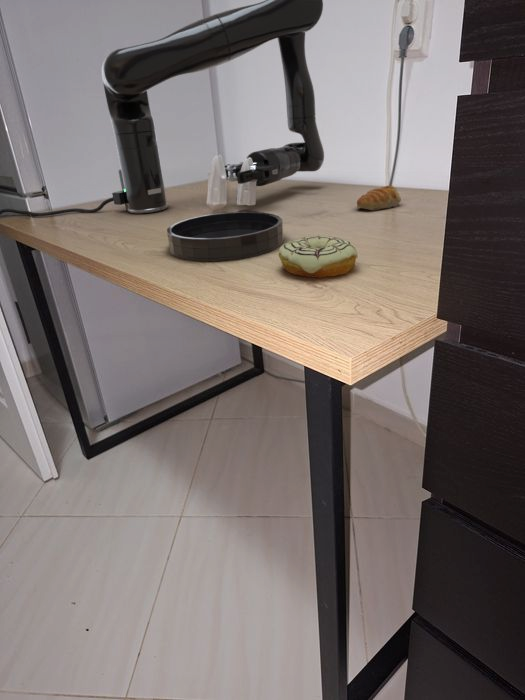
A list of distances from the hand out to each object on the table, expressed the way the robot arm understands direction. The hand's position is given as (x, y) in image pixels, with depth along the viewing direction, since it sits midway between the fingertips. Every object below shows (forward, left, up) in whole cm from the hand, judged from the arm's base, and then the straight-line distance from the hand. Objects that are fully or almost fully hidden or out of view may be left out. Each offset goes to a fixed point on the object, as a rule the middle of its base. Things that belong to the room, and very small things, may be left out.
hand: (224, 178), depth 104 cm
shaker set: (0, +2, -7) cm, 7 cm away
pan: (+15, -20, -8) cm, 26 cm away
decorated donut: (+36, -26, -8) cm, 45 cm away
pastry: (+28, +15, -8) cm, 33 cm away
